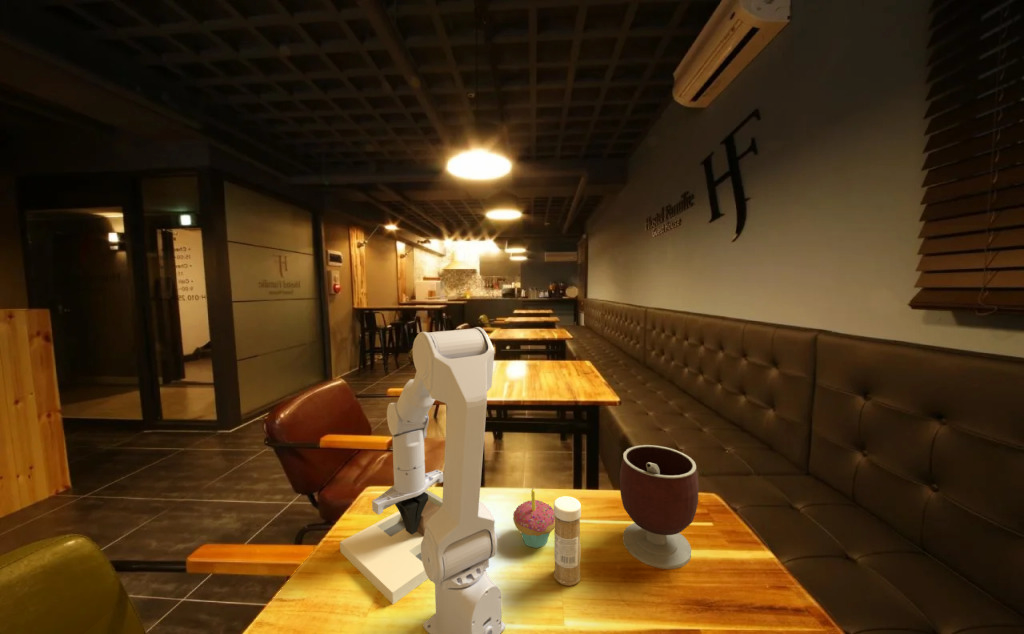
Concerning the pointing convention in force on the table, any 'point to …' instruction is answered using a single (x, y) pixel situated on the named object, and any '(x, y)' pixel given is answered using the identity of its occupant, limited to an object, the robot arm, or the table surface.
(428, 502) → the walnut block
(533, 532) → the cupcake
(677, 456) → the mate gourd
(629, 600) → the table surface
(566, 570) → the sprinkles bottle
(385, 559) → the board
